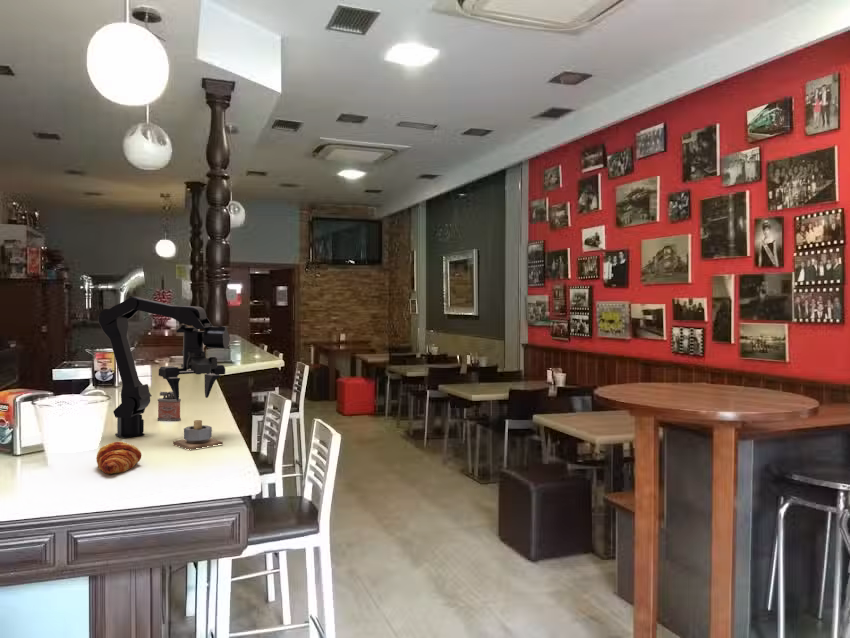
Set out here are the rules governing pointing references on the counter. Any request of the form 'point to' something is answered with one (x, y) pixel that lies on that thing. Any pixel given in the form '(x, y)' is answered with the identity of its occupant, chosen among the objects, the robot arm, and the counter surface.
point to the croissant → (117, 457)
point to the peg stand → (197, 444)
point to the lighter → (168, 407)
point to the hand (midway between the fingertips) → (192, 398)
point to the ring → (197, 433)
